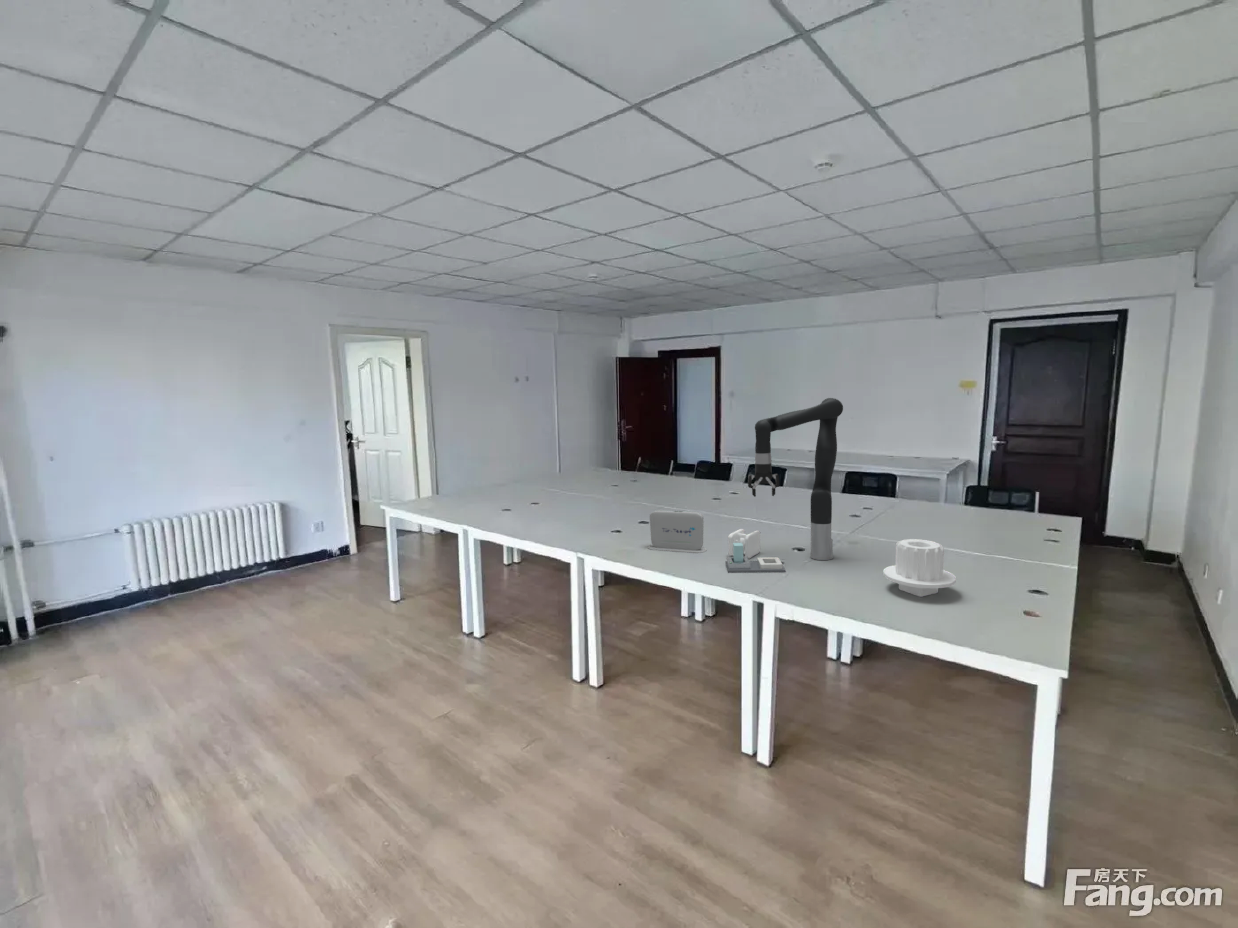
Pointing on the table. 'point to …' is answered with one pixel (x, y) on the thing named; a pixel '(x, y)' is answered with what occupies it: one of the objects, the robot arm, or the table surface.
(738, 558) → the plug
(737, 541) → the cable organizer
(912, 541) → the flanged gear
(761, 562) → the light grey square tray
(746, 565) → the block
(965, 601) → the table surface
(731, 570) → the panel base
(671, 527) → the wireless router
